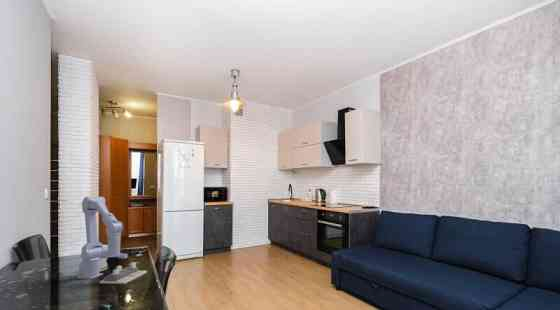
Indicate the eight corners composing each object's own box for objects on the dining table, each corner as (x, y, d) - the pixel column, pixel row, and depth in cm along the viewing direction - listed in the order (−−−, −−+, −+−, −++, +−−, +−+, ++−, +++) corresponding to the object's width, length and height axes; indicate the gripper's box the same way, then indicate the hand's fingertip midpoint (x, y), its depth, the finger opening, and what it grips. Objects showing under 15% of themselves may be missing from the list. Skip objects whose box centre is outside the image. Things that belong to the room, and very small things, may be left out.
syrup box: (99, 271, 163) (101, 246, 165) (91, 271, 164) (92, 246, 166) (107, 269, 169) (108, 244, 171) (99, 268, 170) (100, 244, 172)
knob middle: (115, 271, 150) (115, 267, 151) (119, 270, 153) (119, 265, 154) (118, 271, 150) (118, 267, 151) (121, 270, 153) (122, 265, 153)
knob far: (129, 268, 156) (130, 264, 156) (133, 267, 159) (133, 262, 159) (132, 268, 156) (132, 264, 156) (135, 267, 158) (135, 262, 159)
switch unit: (99, 283, 142) (99, 277, 143) (124, 272, 161) (124, 266, 161) (124, 283, 141) (125, 277, 141) (146, 272, 160) (147, 266, 160)
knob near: (112, 275, 144) (112, 270, 145) (116, 273, 147) (116, 268, 147) (115, 275, 144) (115, 270, 144) (119, 273, 147) (119, 268, 147)
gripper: (95, 247, 144) (94, 274, 143) (121, 247, 143) (120, 274, 141) (105, 244, 151) (104, 270, 150) (130, 244, 150) (129, 270, 148)
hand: (112, 272), depth 146 cm, fingers closed
